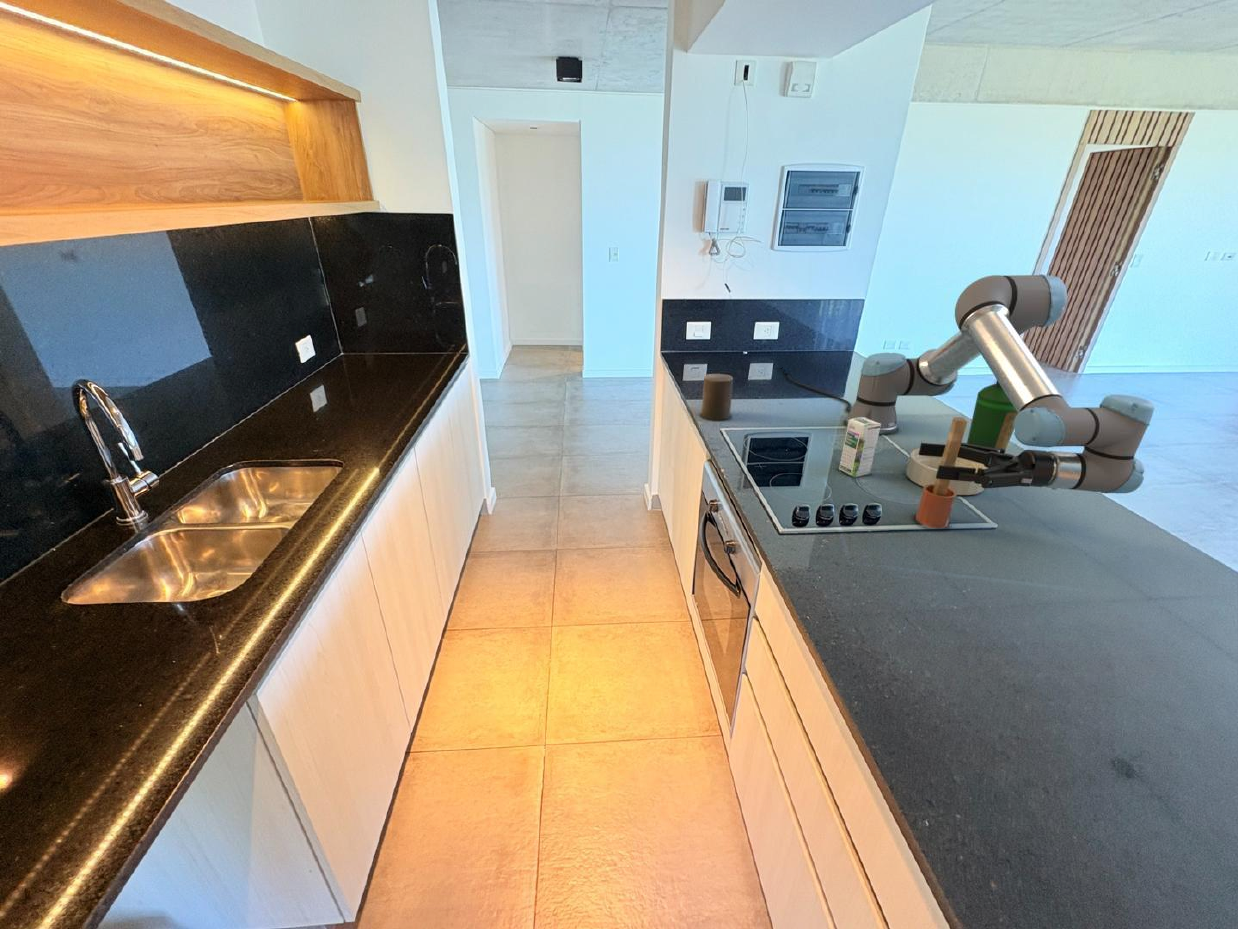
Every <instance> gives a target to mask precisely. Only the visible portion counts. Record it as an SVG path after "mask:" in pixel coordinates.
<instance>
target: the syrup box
mask: <svg viewBox="0 0 1238 929" xmlns="http://www.w3.org/2000/svg"><path fill="white" fill-rule="evenodd" d="M880 427H881V424H880V423H877V422H874V421H872V420H869V419H867V418H865V417H859V418H853V419H850V420H849V422H848V426H847V427H846V432H845V437H844V443H843V446H842V447H843V448H842V452H841V456H840V457H841V458H840V462H839V465H838V466H839V467H838V470H839V471H842V472H844V473H845V474H847V475H849V476H851V477H852V478H859V477H863V476H867V475H870V474H871V470H872V465H873V460H874V457H875V453H876V447H877V443H878V440H879V435H880V434H879V431H880Z"/></svg>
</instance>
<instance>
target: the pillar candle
mask: <svg viewBox="0 0 1238 929" xmlns="http://www.w3.org/2000/svg"><path fill="white" fill-rule="evenodd" d="M733 383H734V377H733V376H732V375H729V374H723V373H709V374H706V375H704V376H703V387H702V388H703V389H702V403H701V413H700V415H701V416H702V418H704V419H705V420H710V421H718V422H719V421H720V422H721V421H725V420H728V419H730V417H731V408H732V406H731V405H732V395H733V386H734V384H733Z"/></svg>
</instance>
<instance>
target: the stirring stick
mask: <svg viewBox="0 0 1238 929" xmlns="http://www.w3.org/2000/svg"><path fill="white" fill-rule="evenodd" d="M967 424H968V419H966V418H965V417H958V416H953V418H952V420H951V424H950V427H949V428H950V429H949V432H948V435H947V439H946V443H945V445H946V446H945V449H944V453H943V457H942V460H941V464H940V465H943V466H955V462H956V459H957V455H958V452H959V449H960V445H961V442H962V441H963V437H964V434H965V431H966V427H967ZM949 483H950V480H945V479H937V478H936V482H935V485H934V489H933V492H932V494H934V495H938V496H944V497H945V496H946V493H947V490H948V486H949Z"/></svg>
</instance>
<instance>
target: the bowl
mask: <svg viewBox="0 0 1238 929" xmlns="http://www.w3.org/2000/svg"><path fill="white" fill-rule="evenodd" d="M919 450H920V447H919V448H916V449H913V450H912V451H911V452H910V453H909V457H908V461H907V466H906V470H905V475H906V476H907V477H908V479H909V480H910V481H911V482H913V483H915V484H917V485H919V486H921V487H923V488H924V486H926V485H931V484H934V485H935V482H936V474H937V471H938V467H939V465H940V464H941V460H942V457H935V456H922V455H919ZM955 467H968V468H975V469H976V472H975V473H977V470H978V467H980V468H982V469H987V467H985V466H984V464H981V463H977V462H973V461H970V460H966V459H962V458H958V457H957V459H956V462H955ZM981 485H982V484H976V483H974V481H972V482H969V481H957V480H950V483H949V486H948V488H950V489H952V490H954V491H955V492H956V495H957V496H971V495H977V494H980V493H982V492H984V490H985V489H986V488H982V487H981Z"/></svg>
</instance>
